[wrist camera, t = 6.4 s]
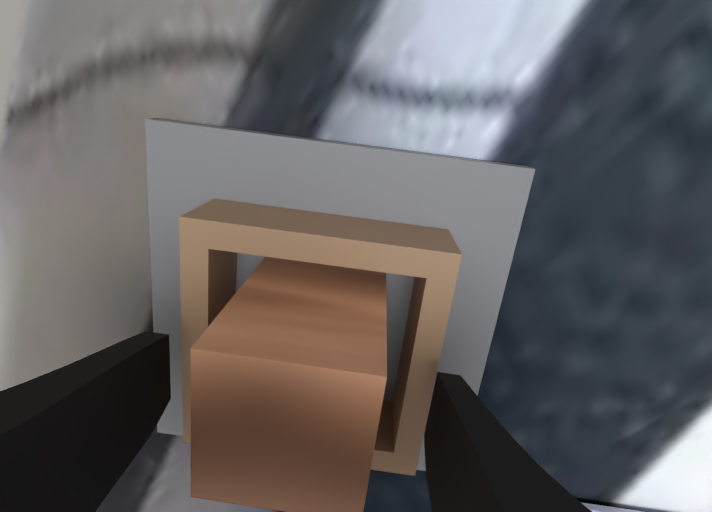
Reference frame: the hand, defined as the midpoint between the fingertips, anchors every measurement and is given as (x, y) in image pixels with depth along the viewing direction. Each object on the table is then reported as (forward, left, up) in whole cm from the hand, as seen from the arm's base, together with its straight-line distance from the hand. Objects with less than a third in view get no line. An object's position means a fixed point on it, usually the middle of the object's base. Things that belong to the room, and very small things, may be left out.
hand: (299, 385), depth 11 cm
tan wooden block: (0, 0, -4) cm, 4 cm away
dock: (0, 0, -5) cm, 5 cm away
